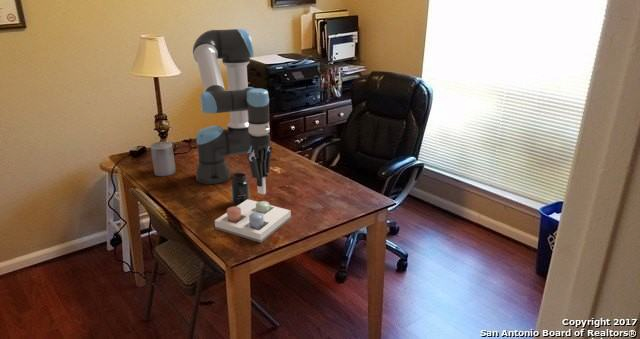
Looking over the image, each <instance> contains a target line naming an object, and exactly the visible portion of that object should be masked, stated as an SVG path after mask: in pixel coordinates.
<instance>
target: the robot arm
mask: <svg viewBox="0 0 640 339" xmlns="http://www.w3.org/2000/svg"><path fill="white" fill-rule="evenodd" d="M192 55H193V59H194V61H195V62H196V63H197V65H198V70H199V74H200V78H201V83H202V88H203V92H201V93H200V107H201V111H202V112H203V114H218V113H219V114H220V113H229V118H230V121H229V122H228V123H227V128H226V129H224V128H223V127H222V126H220V125H212V126H211V125H209V126H207V127H204V128H201V129H200V130H198V131H197V133H196V142H195V143H196V146H197V157H198V158H197V159H198V166H197V169H196V173H195V176H196V178H195V179H196V181H197V182H198V183H199V184H204V185H218V184H221V183H226V182H228V180H230V178H231V171H230V169H229V167H228V164H227V162H226V156H234V155H235V156H236V155H243V154H245V155H246V154H250V155H247V157H246V158H247V159H246V160H247V161H248V164H249V167H250V172H251V175H252V176H251V177H252V178H253V179H256V186H257V187H256V188H257V194H259V195H265V194H267V186H266V184H267V180H266V178H269V173H270V166H271V156H272V152H273V146H269V145H270V144H271V133H270V130H271V128H270V98H269V91H268V90H267V89H264V88H255V87H252V86H249V84H248V83H249V82H248V65H249V64H250V62H251V59H252V58H254V46H253V40H252V37H251V35H250V33H249V31H248V30H247V29H240V28H239V29H238V28H236V29H235V28H233V29H211V30H210V29H209V30H207V31H205V32H203V33H202V34H200V35H199V36H198V37H197V39H195V42H194V44H193V47H192ZM219 59H221V62H222V64H223V65H224V66H225V67H226V77H227V78H226V80H227V90H226V88H225V84H224V80H223V77H222V73H221V71H220V70H221V69H220V66H219V62H218V60H219Z"/></svg>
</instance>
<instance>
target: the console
mask: <svg viewBox="0 0 640 339" xmlns="http://www.w3.org/2000/svg"><path fill="white" fill-rule="evenodd" d="M257 202H258V201H255V200H251V199H250V198H249V199H247V200H246V201H244V202H243V203H241V204H239V205H235V207H239V208H240V209H241V221H239V222H236V223H232V222H228V220H227V212H226V213H224V214H223V215H221V216H219V217H218V218H216V219H215V220H214V228H215V229H216V230H217V231H221V232H225V233H227V234H231V235H235V236H238V237H240V238H241V237H242V238H245V239H248V240H251V241H253V242H258V243H260V244H262V243H263V241H265V240H267V238H269V237H270V236H271V235H272V234H274V233H275V232H276V231H278V229H279V228H281V227H283V225H284V224H286V223H287V222H288V221H290V220H291V219H292V215H291V214H292V212H291V210H290V209H287V208H283V207H280V206H275V205H272V204H269V212H267V213H266V214H263V215H264V227H263V228H261V229H252V228H250V220H249V216H250V215H251V214H252V213H259V212H256V203H257Z"/></svg>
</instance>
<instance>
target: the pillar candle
mask: <svg viewBox="0 0 640 339" xmlns="http://www.w3.org/2000/svg"><path fill="white" fill-rule="evenodd" d="M149 147H150V154H151V160H152V166H153V167H152V168H153V172H154V175H155V176H156V177H157V176H158V177H166V176H171V175H173V174H175V173H176V171H177V168H176V162H175V155H174V154H175V153H174V149H173V148H174V147H173V143H172V142H170V141H157V142H154V143H152V144H151V145H150V146H149Z"/></svg>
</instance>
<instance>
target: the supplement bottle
mask: <svg viewBox="0 0 640 339" xmlns="http://www.w3.org/2000/svg"><path fill="white" fill-rule="evenodd" d="M230 187H231V201H232V204H233V205H234V206H238V205H239V204H241V203H243V202H244V201H246V200H247V199H249V200H250V190H249V189H250V188H249V182H248V180H247V177H246V174H245V173H243V172H239V173H238V172H237V173H235V174H233V181H232V182H231V186H230Z"/></svg>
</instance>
